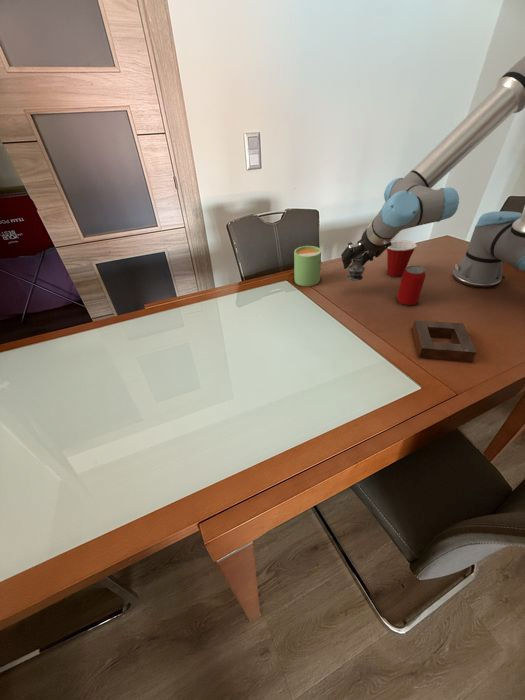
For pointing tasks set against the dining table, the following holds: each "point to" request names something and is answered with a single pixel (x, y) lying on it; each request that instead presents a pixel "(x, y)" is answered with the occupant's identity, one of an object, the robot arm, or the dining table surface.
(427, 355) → the socket base
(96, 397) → the dining table surface
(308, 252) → the mug
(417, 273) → the beverage can
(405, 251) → the plastic cup
